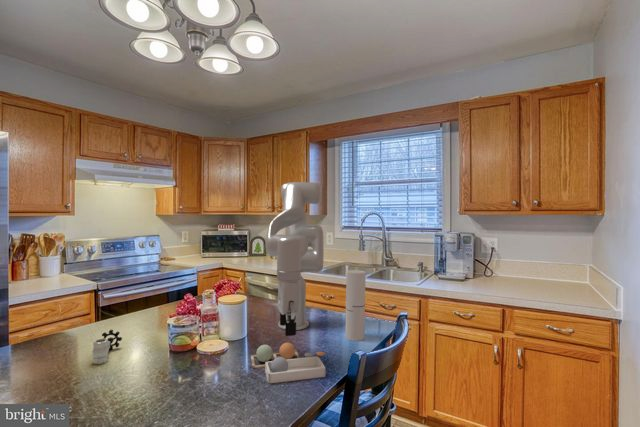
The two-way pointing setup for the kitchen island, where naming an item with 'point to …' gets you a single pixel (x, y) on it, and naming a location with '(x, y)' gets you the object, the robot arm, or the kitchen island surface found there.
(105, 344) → the valve
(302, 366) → the trough
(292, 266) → the robot arm
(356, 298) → the cylindrical container
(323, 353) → the card
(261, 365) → the tray
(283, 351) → the ball terracotta
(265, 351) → the ball sage
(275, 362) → the ball slate
